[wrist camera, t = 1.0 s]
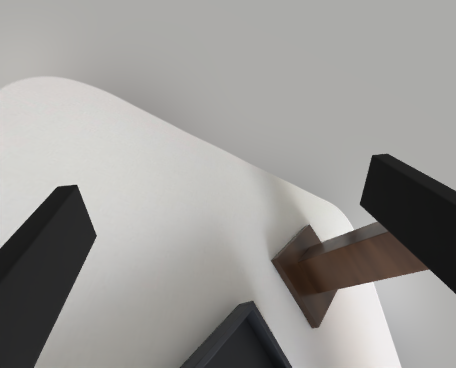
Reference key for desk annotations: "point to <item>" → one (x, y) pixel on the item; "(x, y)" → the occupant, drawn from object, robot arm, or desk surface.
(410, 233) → the robot arm
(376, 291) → the desk surface
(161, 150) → the desk surface
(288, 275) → the stand
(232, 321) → the tray
